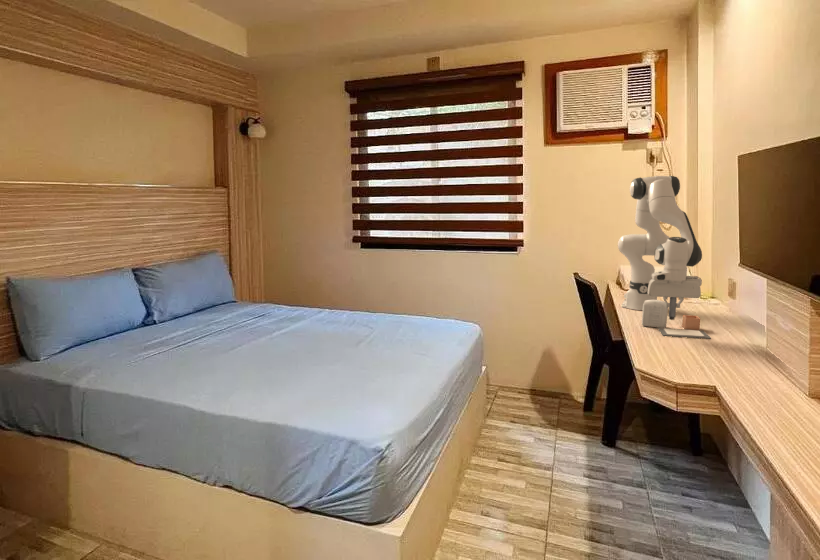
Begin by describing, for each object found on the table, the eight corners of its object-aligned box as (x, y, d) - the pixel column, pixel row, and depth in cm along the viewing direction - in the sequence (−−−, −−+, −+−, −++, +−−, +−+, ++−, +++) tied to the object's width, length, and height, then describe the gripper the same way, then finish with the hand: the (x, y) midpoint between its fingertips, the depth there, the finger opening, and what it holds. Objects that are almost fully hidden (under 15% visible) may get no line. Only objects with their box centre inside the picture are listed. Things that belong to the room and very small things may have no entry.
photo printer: (666, 326, 231) (668, 300, 229) (666, 328, 228) (668, 301, 226) (642, 324, 236) (643, 298, 234) (641, 326, 233) (642, 299, 231)
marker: (667, 318, 221) (669, 293, 219) (674, 318, 220) (676, 293, 218) (668, 319, 218) (670, 294, 216) (675, 320, 217) (677, 294, 216)
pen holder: (681, 326, 231) (682, 315, 230) (696, 327, 229) (697, 315, 228) (684, 330, 225) (685, 317, 224) (699, 330, 224) (700, 318, 223)
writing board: (657, 329, 227) (658, 327, 227) (703, 331, 222) (703, 329, 222) (663, 336, 216) (663, 334, 216) (710, 339, 211) (710, 337, 211)
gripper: (700, 275, 216) (697, 307, 218) (647, 273, 222) (645, 304, 224) (704, 277, 210) (701, 310, 212) (650, 275, 216) (648, 307, 218)
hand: (672, 307), depth 218 cm, fingers closed on marker, 3 cm apart
